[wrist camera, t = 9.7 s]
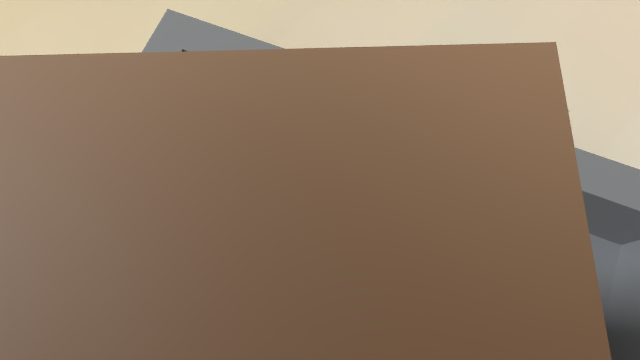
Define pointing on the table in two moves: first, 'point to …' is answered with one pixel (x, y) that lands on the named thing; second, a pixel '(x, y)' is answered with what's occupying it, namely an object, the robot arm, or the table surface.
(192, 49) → the box
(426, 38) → the table surface
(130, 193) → the brown tall block
